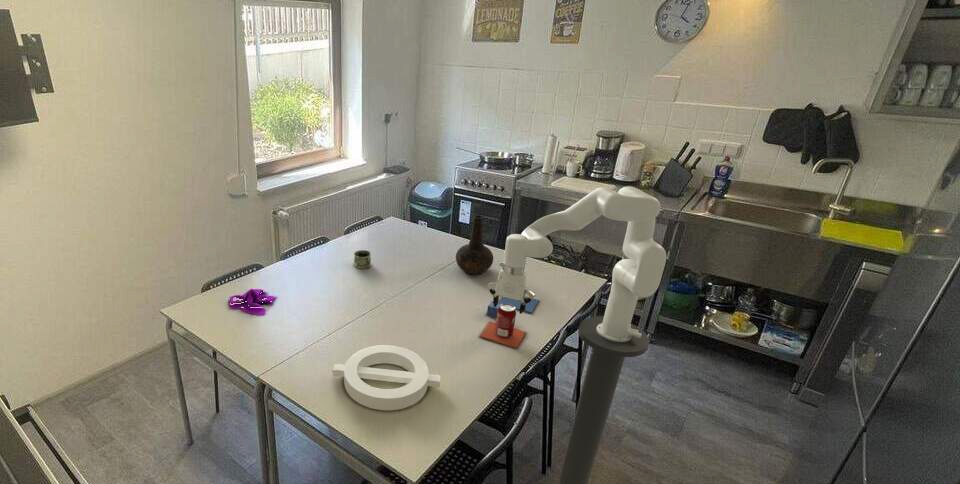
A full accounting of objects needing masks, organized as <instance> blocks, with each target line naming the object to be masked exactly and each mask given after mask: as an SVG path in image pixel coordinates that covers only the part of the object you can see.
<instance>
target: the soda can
mask: <svg viewBox="0 0 960 484" xmlns="http://www.w3.org/2000/svg"><path fill="white" fill-rule="evenodd" d="M516 310H517V309H515V307H514V306H513V305H511V304H507V303H504V304H501V305H500V307H499V308H498V312H497V318H495V319H496V320H495V323H496V326H495V333H496V334H497V335H498V336H500V337H510V336H512V335H513V330H514V329H515V323H516V317H517V311H516Z"/></svg>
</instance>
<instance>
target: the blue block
mask: <svg viewBox="0 0 960 484" xmlns="http://www.w3.org/2000/svg"><path fill="white" fill-rule="evenodd" d="M500 305H501V304H500V303H499V302H498V305H497V306H496V307H494V304H493V300H492V301H490V302H489V304H488V305H487V312H486V316H488V317H491V318H494V319H497V312H498V308H499V307H500Z"/></svg>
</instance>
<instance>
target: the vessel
mask: <svg viewBox="0 0 960 484" xmlns="http://www.w3.org/2000/svg"><path fill="white" fill-rule="evenodd" d="M353 255H354V257H353V262H354V266H355V267H356V268H359V269H366V268H369V267H370V266H371V261H372V258H371V255H372V252H371V251H369V250H365V249H359V250H356V251H354V253H353Z"/></svg>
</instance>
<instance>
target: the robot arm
mask: <svg viewBox="0 0 960 484" xmlns="http://www.w3.org/2000/svg"><path fill="white" fill-rule="evenodd" d="M661 209H662V206H661V202H660V201H659V200H658V199H657V198H656V197H654V196H653V195H651V194H648V193H646V192H645V191H643V190H641V189H639V188H637V187H634V186H630V185H629V186H623V187H621V188H620V189H619V190H618V191H615V190H613V189H611V188H609V187H606V186H600V187H597V188H595V189H594V190H592V191H590V192H589V193H588V194H587V195H585V196H583V197H582V198H581V199H579V200H577V201H576V202H575V203H573V204H572V205H570V206H569V207H568V208H566V209H564V210H562V211H558V212H554V213H551V214H548V215H545V216H542V217H540V218H539V219H537V220H535V221H534V222H533V223H531V224H530V225H528V226H527V227H526V228H525V229H523V231H522V232H521V234H520V233H512V234H509V235H508V236H507V237H506V239H505V247H504V254H503V255H504V256H503V257H504V258H503V261H502V262H501V261H499V267H501V268H500V269H499V273H498V276H497V280H496V281H494V282H489V283H488V284H487V288H488V290H489V293H490V294H491V296H492V297H493V298H492V302H493V304H494V307H496V306H497V305H498V303H499V302H500V297H501V298H503V297H506V298H510V299H514V300H520V301H521V305H520V310H519V315H522V313H523V312H524V311H525V307H526V304H527V303H529V302H530V301H531V300H532V299H535V297H536V294H535V293H534V292H533V291H531V290H530V289H529V288H527V272H526V271H525V270H526V263H527V258H533V259H534V258H535V259H544V258H547V257H549V256H550V255H551V254H552V252H553V249H554V245H553V243H552V241H551V240H550V239H549V238H548V237H546V236H548V235H549V234H551V233H554V232H558V231H580V230H582V229H584V228H585V227H586V226H588V225H589V224H591V223H592V222H594V221H595V220H597V219H598V218H599V217H601V216H603V217H605V218H606V219H609V220H611V221H620V222H627V226H626V227H627V228H626V230H625V236H624V240H623V242H622V243H623V244H622V253H623V254H624V256H625V257H627V258H624V259H620V260H619V261H617V263H615V265H614V267H613V268H612V275H611V278H612V279H611V287H610V291H609V292H610V293H609V296H608V299H607V304H606V307H605V311H604V315H603V317H604V318H603V322H602V323H601V324H599V325H598V326H597V328H596V331H597V333H598V334H599V335H600V336H602V337H603V338H605V339H607V340H610V341H614V342H627V341H629V340H630V339H631V337H632V336H634V337H637V338H641V335H642V334H641V333H638V331H639V330H635V329H632V328H630V327H631V324H632V320H633V317H634V314H635V310H636V306H637V304H638V301H639V300H638V299H639V298H648V297H651V296H653V295H654V294H655V293H656V292H657V290H658V289H659V287H660V284H661V280H662V277H663V273H664V270H665V266H666V263H667V252H666V250H665V248H664V247H663V246H662V245H661V244H659V243H658V242H657V241H655V240H654V233H655V228H656V218H657V217H658V215H660V212H661ZM494 287H495V288H494ZM525 295H528V297H529V298H527V299H526V297H527V296H525Z"/></svg>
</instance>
